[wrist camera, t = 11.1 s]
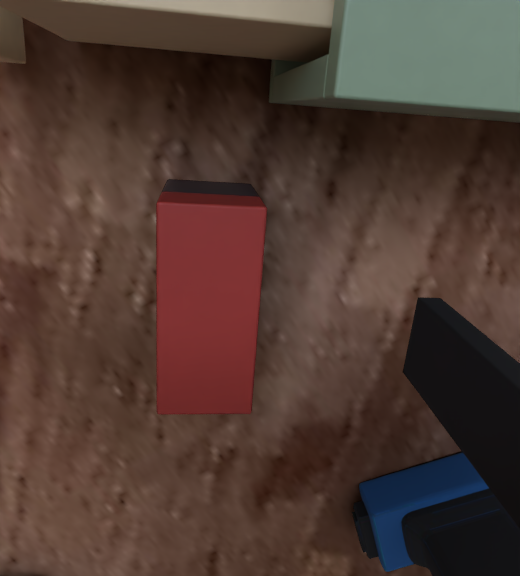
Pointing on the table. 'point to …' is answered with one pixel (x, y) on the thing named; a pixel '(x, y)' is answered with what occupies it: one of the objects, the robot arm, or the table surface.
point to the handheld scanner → (437, 521)
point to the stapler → (208, 295)
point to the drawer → (178, 26)
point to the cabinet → (413, 60)
